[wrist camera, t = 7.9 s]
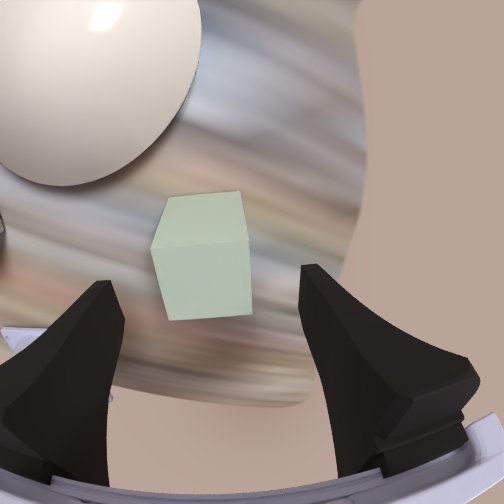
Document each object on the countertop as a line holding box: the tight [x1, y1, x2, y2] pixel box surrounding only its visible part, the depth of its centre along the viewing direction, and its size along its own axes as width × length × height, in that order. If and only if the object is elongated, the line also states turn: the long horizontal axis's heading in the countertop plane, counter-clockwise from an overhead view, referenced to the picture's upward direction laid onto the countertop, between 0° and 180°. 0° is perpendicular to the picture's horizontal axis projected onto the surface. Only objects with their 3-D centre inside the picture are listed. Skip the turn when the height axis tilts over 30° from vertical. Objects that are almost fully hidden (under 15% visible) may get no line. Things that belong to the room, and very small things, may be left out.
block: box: [150, 191, 253, 320], centre depth 14 cm, size 4×4×5 cm
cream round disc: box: [0, 0, 202, 186], centre depth 10 cm, size 13×13×1 cm
